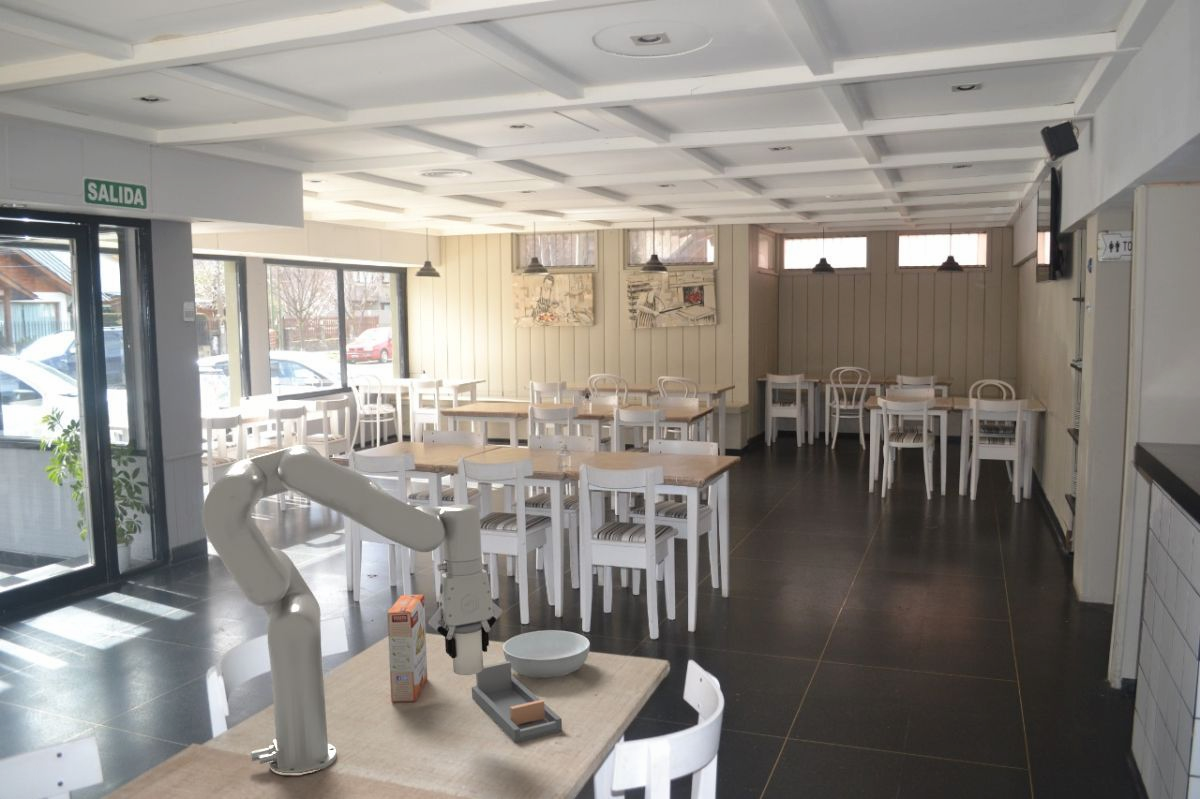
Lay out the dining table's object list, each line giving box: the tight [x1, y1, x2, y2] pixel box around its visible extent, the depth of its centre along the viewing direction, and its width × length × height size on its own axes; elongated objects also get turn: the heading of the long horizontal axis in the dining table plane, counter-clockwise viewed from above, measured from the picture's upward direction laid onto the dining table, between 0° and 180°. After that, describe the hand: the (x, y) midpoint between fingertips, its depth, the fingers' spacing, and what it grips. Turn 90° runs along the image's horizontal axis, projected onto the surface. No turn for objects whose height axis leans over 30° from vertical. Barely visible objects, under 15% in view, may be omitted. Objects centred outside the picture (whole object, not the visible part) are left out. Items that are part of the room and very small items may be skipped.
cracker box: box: [386, 594, 428, 703], centre depth 216 cm, size 14×6×21 cm, turn 179°
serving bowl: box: [502, 629, 591, 679], centre depth 226 cm, size 21×21×7 cm
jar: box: [452, 622, 484, 676], centre depth 190 cm, size 6×6×10 cm
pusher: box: [510, 699, 545, 725], centre depth 197 cm, size 7×5×4 cm
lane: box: [471, 660, 563, 743], centre depth 202 cm, size 10×26×7 cm, turn 27°
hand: (467, 652), depth 191 cm, fingers closed on jar, 6 cm apart
